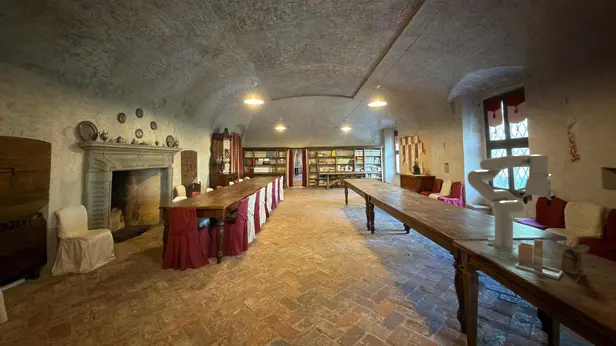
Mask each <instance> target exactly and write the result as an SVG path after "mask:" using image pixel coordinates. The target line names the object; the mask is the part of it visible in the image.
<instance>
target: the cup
mask: <svg viewBox="0 0 616 346" xmlns="http://www.w3.org/2000/svg"><path fill="white" fill-rule="evenodd" d="M517 246H518V247H517V248H518V249H517V251H518V252H517V255H518V256H517V260H518V261H519V262H520V261H521V260H522V261H526V262H530V263H534V244H531V243H526V242H525V243H524V242H521V243H518V244H517Z"/></svg>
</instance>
